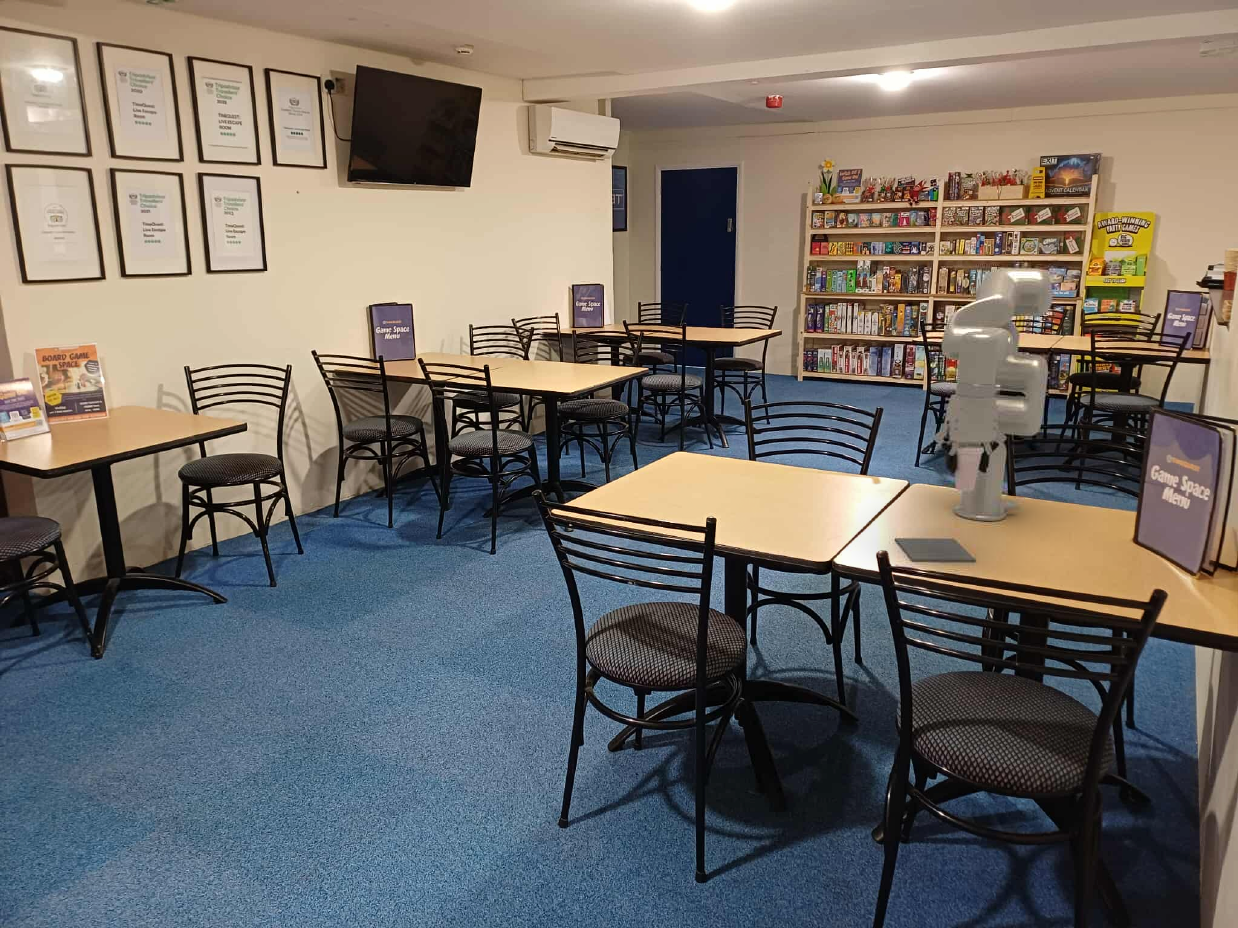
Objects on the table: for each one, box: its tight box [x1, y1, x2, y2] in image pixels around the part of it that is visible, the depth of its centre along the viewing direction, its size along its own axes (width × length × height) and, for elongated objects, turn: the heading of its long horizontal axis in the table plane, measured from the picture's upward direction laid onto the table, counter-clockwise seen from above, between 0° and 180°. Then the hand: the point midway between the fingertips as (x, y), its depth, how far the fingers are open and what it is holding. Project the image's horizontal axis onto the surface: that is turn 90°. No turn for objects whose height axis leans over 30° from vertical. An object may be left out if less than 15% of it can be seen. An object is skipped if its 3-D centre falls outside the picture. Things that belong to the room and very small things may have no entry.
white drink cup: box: [954, 443, 984, 492], centre depth 188 cm, size 6×6×14 cm
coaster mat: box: [894, 537, 977, 563], centre depth 200 cm, size 14×14×1 cm
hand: (966, 470), depth 189 cm, fingers closed on white drink cup, 6 cm apart
